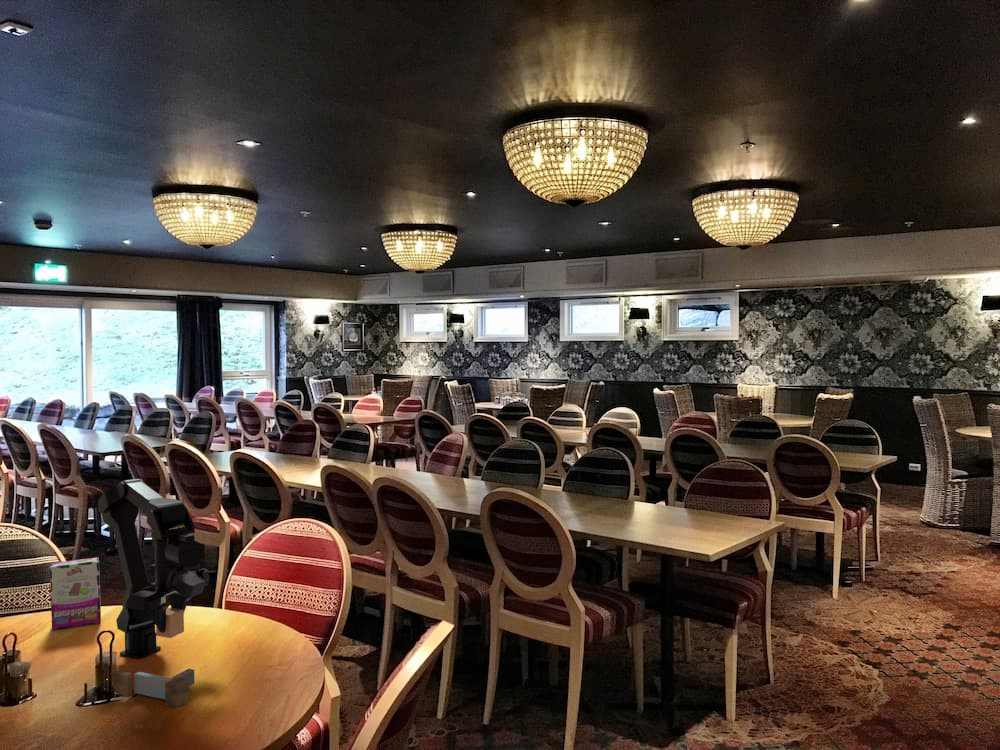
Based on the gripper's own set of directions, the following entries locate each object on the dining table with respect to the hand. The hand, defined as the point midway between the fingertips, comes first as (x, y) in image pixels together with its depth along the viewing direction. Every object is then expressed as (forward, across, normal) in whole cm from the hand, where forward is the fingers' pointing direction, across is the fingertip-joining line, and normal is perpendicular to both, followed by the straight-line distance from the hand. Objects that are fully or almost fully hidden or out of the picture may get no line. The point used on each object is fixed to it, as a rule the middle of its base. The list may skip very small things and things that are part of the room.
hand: (170, 629), depth 171 cm
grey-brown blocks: (+9, -12, -5) cm, 16 cm away
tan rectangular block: (+1, 0, 0) cm, 1 cm away
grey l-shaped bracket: (+9, -9, -7) cm, 14 cm away
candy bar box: (+9, +13, +44) cm, 47 cm away
